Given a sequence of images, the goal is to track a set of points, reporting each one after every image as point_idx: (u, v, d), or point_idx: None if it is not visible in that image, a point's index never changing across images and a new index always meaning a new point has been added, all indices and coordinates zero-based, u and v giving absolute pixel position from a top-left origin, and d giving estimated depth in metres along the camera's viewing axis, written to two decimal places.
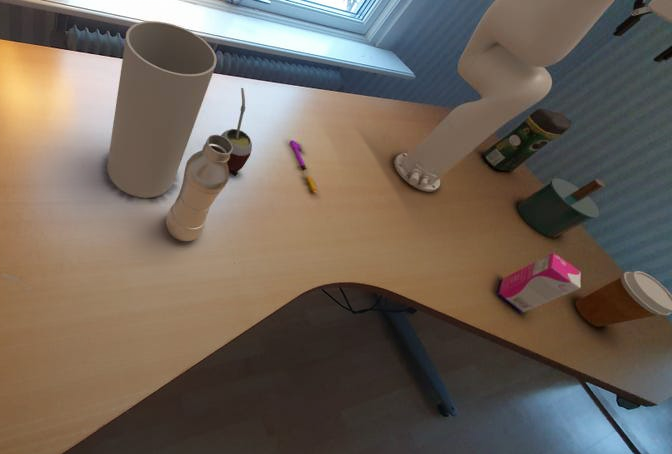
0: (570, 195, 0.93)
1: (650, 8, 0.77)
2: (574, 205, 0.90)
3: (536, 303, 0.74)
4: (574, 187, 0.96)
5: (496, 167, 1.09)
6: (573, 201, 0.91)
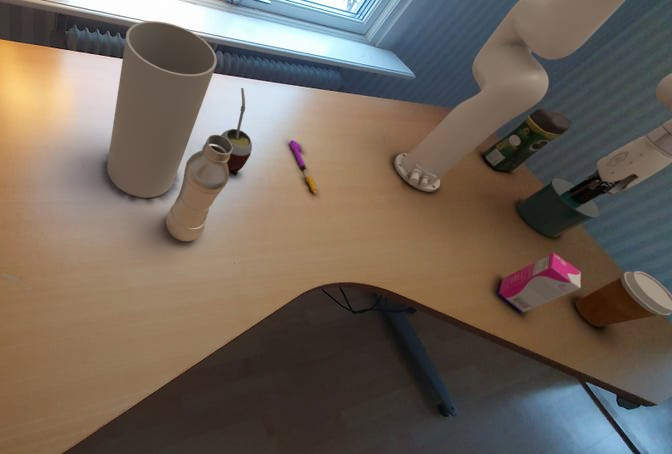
0: (570, 195, 0.93)
1: (597, 163, 0.90)
2: (574, 205, 0.90)
3: (536, 303, 0.74)
4: None
5: (496, 167, 1.09)
6: (573, 201, 0.91)
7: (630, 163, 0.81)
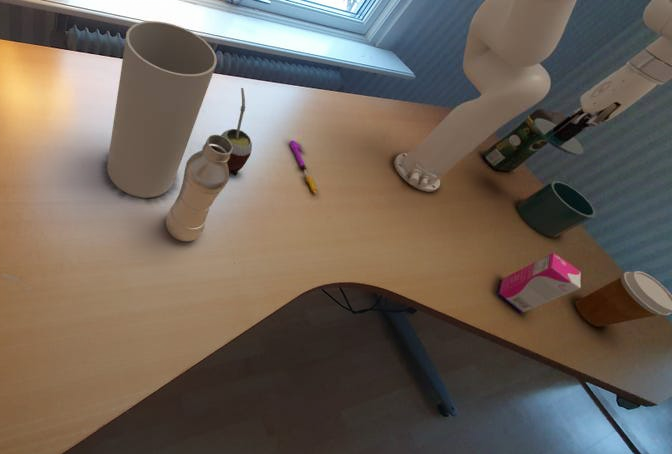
0: (553, 133, 0.90)
1: (580, 98, 0.87)
2: (557, 142, 0.88)
3: (536, 303, 0.74)
4: None
5: (496, 167, 1.09)
6: (556, 138, 0.89)
7: (612, 91, 0.78)
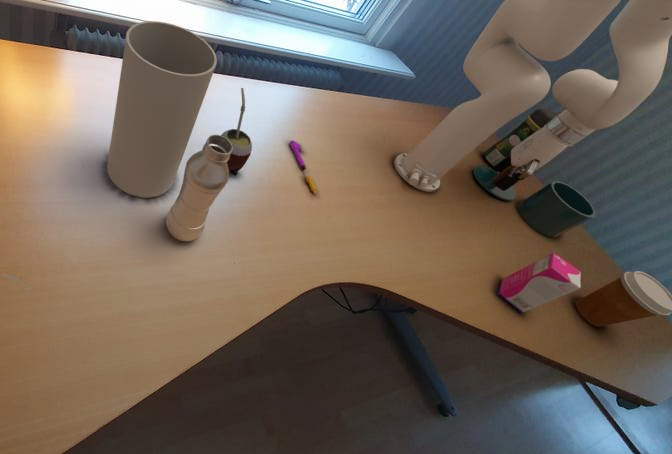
0: (490, 180, 1.03)
1: (511, 150, 1.00)
2: (492, 189, 1.01)
3: (536, 303, 0.74)
4: (496, 173, 1.07)
5: None
6: (492, 185, 1.02)
7: (532, 149, 0.91)
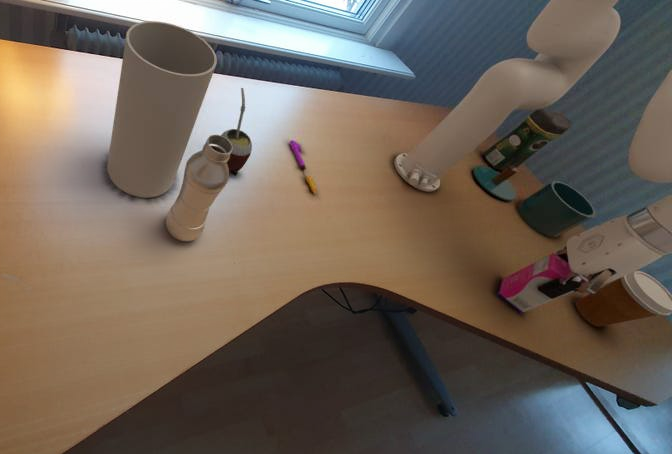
0: (490, 180, 1.03)
1: None
2: (492, 189, 1.01)
3: (536, 303, 0.74)
4: (496, 173, 1.07)
5: (496, 167, 1.09)
6: (492, 185, 1.02)
7: (606, 254, 0.62)
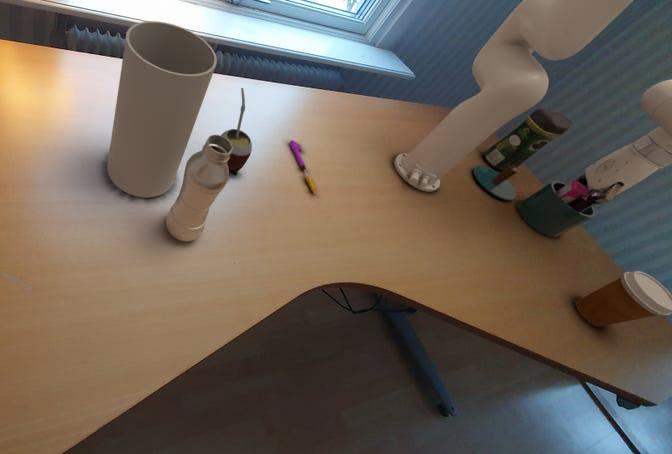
0: (490, 180, 1.03)
1: (585, 170, 0.92)
2: (492, 189, 1.01)
3: None
4: (496, 173, 1.07)
5: (496, 167, 1.09)
6: (492, 185, 1.02)
7: (616, 171, 0.83)
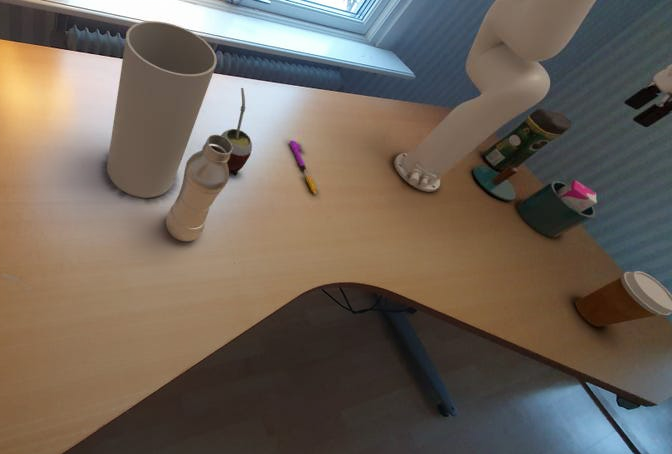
0: (490, 180, 1.03)
1: None
2: (492, 189, 1.01)
3: None
4: (496, 173, 1.07)
5: (496, 167, 1.09)
6: (492, 185, 1.02)
7: None
